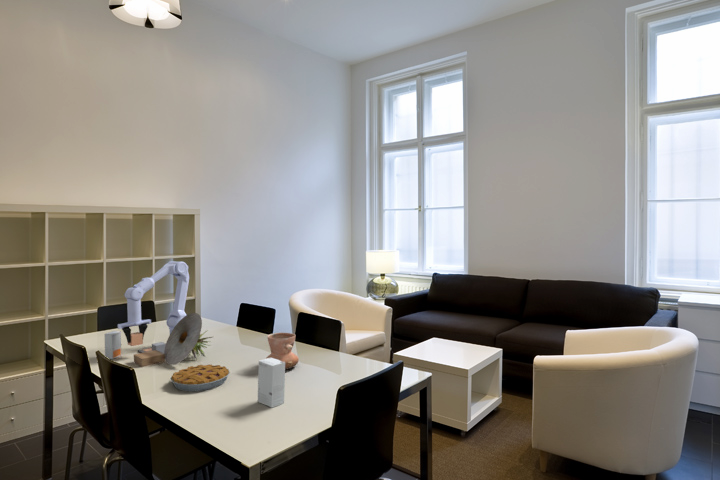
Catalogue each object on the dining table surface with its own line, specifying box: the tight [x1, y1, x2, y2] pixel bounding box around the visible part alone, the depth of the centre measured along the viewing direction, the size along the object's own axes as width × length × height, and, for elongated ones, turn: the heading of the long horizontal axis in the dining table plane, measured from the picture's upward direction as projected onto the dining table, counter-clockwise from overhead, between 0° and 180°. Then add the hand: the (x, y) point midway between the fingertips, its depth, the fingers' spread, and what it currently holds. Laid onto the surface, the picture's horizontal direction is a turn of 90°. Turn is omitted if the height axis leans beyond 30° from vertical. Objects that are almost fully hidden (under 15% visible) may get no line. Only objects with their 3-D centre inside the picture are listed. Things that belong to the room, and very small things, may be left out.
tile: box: [137, 346, 152, 353], centre depth 222 cm, size 7×7×1 cm
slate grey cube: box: [151, 341, 166, 354], centre depth 218 cm, size 5×5×5 cm
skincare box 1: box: [104, 330, 122, 360], centre depth 212 cm, size 6×4×12 cm
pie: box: [170, 364, 231, 392], centre depth 177 cm, size 22×22×5 cm
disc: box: [164, 312, 213, 366], centre depth 209 cm, size 25×18×25 cm
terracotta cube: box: [127, 331, 144, 347], centre depth 212 cm, size 5×5×5 cm
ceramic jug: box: [265, 332, 300, 371], centre depth 195 cm, size 18×14×14 cm
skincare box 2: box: [257, 357, 286, 408], centre depth 156 cm, size 8×6×15 cm
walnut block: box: [133, 350, 166, 368], centre depth 204 cm, size 10×10×4 cm
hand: (135, 341), depth 212 cm, fingers closed on terracotta cube, 5 cm apart
